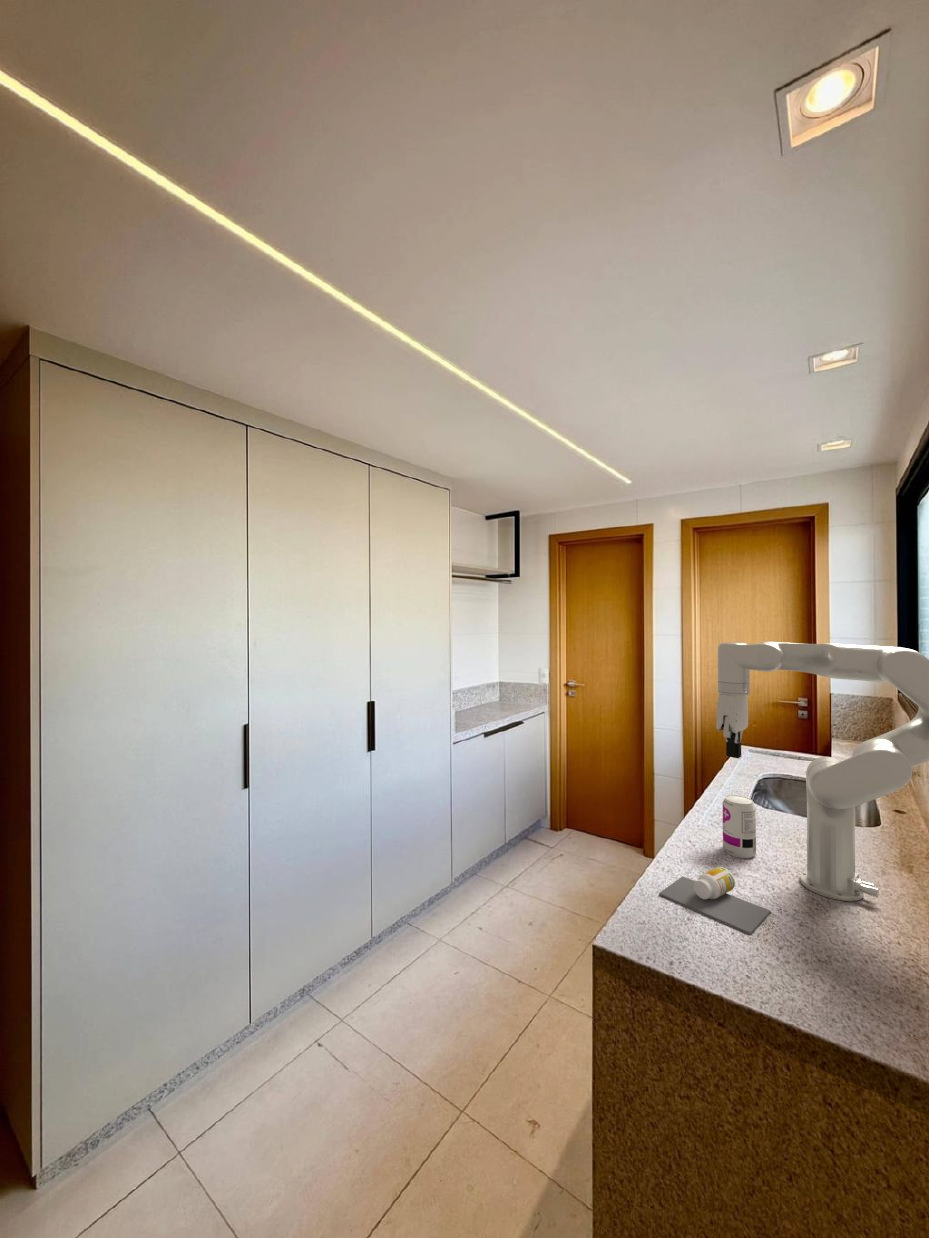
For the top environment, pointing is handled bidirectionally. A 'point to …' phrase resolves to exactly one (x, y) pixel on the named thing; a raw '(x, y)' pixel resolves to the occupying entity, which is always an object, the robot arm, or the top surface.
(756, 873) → the top surface
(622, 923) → the top surface
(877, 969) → the top surface
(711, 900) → the mat
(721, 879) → the supplement bottle
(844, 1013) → the top surface
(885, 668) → the robot arm
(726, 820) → the supplement can
